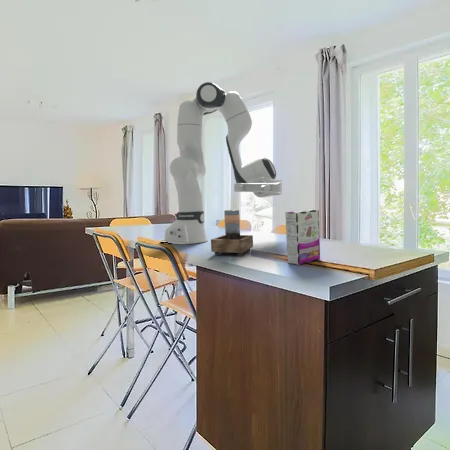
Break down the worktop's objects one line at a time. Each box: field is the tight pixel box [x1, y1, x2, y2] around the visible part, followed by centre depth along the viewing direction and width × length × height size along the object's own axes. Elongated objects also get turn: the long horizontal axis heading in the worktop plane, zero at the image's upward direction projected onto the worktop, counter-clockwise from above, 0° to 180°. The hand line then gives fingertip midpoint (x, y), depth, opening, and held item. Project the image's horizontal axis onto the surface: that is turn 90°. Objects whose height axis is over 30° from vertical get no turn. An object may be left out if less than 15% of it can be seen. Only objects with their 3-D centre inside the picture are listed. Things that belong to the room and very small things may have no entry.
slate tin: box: [223, 209, 241, 240], centre depth 133 cm, size 6×6×13 cm
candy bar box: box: [285, 208, 321, 266], centre depth 114 cm, size 11×5×16 cm, turn 129°
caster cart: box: [210, 234, 254, 257], centre depth 134 cm, size 12×12×6 cm
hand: (252, 187), depth 145 cm, fingers open, 8 cm apart
